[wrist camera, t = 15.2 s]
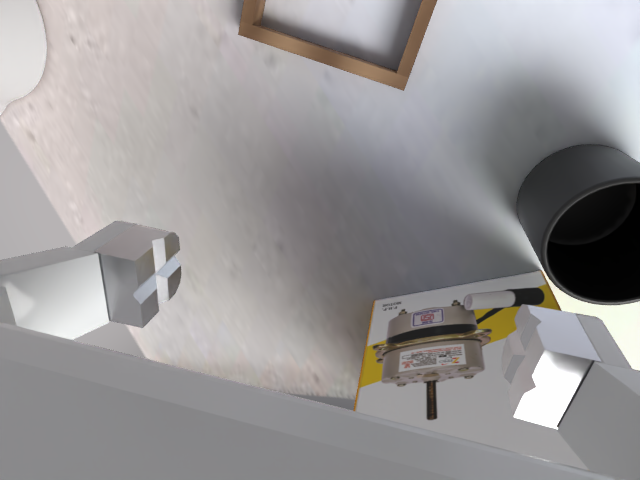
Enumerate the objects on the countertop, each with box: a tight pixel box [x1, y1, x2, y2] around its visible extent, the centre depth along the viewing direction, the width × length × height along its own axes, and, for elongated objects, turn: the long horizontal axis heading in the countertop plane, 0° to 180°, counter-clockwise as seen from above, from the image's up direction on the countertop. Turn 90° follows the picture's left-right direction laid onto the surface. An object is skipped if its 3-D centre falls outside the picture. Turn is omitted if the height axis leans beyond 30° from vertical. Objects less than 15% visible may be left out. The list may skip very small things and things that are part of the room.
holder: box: [238, 0, 437, 91], centre depth 32 cm, size 14×9×2 cm, turn 74°
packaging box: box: [353, 271, 589, 470], centre depth 34 cm, size 16×16×25 cm
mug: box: [517, 144, 640, 305], centre depth 32 cm, size 9×12×9 cm
